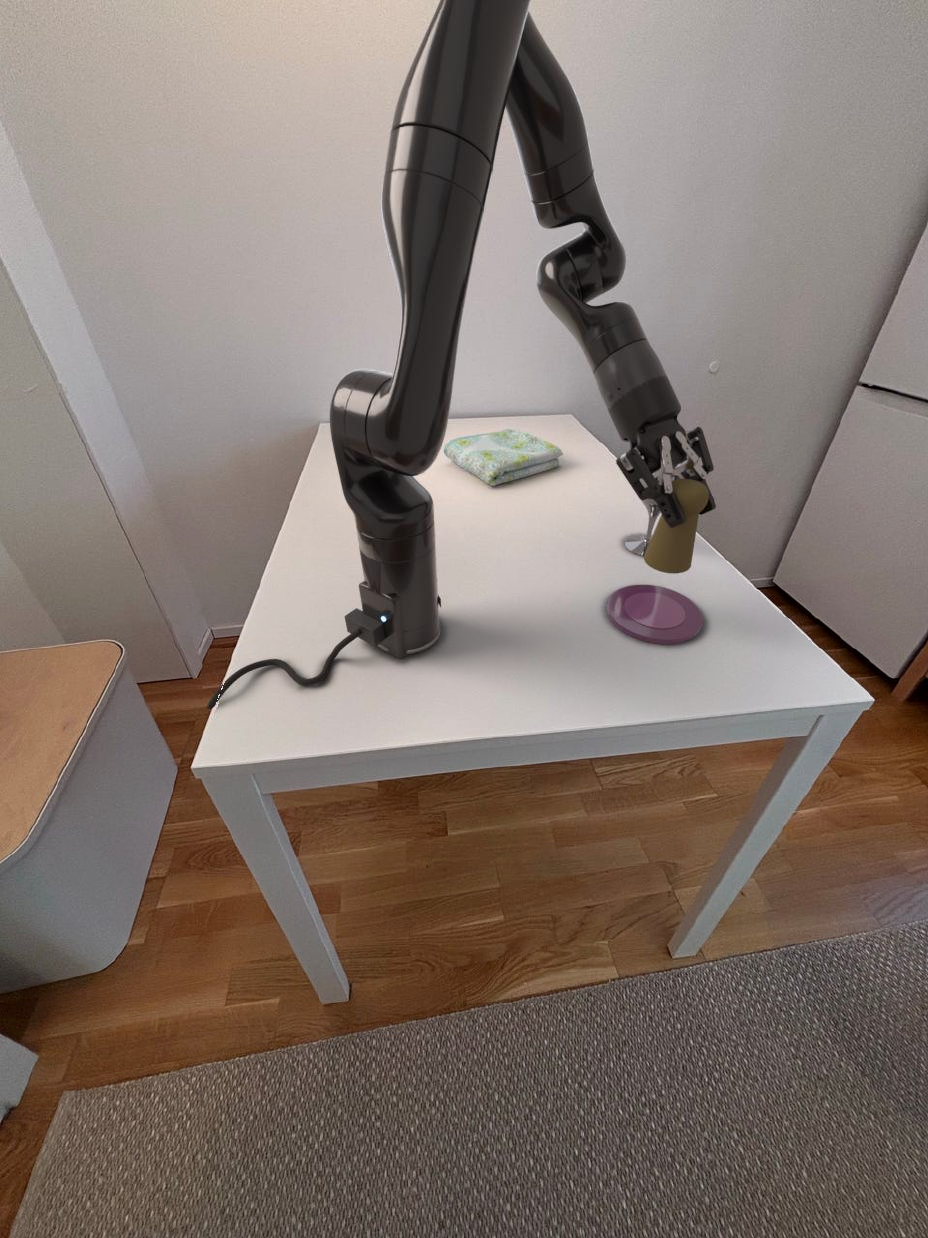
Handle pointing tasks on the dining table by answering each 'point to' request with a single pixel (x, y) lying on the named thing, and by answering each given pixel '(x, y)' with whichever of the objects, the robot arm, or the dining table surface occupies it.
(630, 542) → the wine glass
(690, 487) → the cork
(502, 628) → the dining table surface
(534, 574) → the dining table surface
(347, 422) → the robot arm
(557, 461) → the towel
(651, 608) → the saucer
